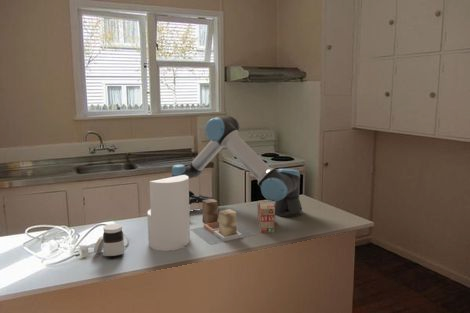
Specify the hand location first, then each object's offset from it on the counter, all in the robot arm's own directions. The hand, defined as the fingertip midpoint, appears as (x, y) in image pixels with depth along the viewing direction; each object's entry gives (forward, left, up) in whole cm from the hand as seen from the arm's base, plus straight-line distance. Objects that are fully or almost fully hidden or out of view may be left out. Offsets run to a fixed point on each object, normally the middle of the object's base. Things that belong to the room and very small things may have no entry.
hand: (202, 206), depth 199 cm
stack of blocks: (-21, +26, -6) cm, 34 cm away
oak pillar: (+2, +30, -5) cm, 30 cm away
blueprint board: (+2, +24, -6) cm, 25 cm away
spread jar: (+51, +22, -6) cm, 56 cm away
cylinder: (+26, +22, -6) cm, 35 cm away
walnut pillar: (0, +8, -6) cm, 10 cm away
